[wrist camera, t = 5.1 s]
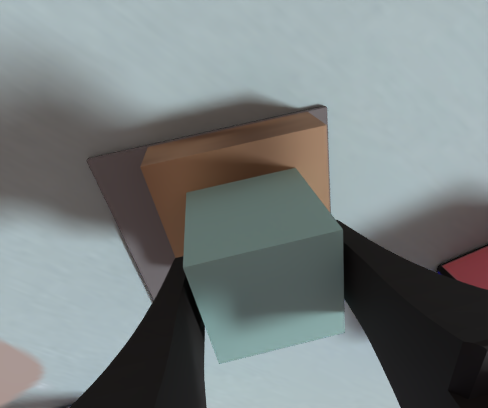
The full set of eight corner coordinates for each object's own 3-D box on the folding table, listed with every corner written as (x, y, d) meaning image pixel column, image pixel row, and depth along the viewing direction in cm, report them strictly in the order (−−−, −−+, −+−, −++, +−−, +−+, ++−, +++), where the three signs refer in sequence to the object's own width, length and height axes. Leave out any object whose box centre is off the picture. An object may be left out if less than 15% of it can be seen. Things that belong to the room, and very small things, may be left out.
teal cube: (212, 274, 16) (219, 364, 12) (186, 192, 13) (183, 267, 9) (304, 252, 16) (344, 332, 12) (295, 167, 14) (343, 229, 9)
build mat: (164, 317, 21) (164, 321, 21) (88, 158, 15) (86, 160, 15) (331, 277, 21) (333, 279, 21) (324, 105, 15) (326, 107, 15)
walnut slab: (191, 267, 19) (191, 298, 17) (147, 147, 15) (140, 166, 13) (316, 238, 19) (331, 264, 17) (307, 111, 15) (326, 125, 13)
